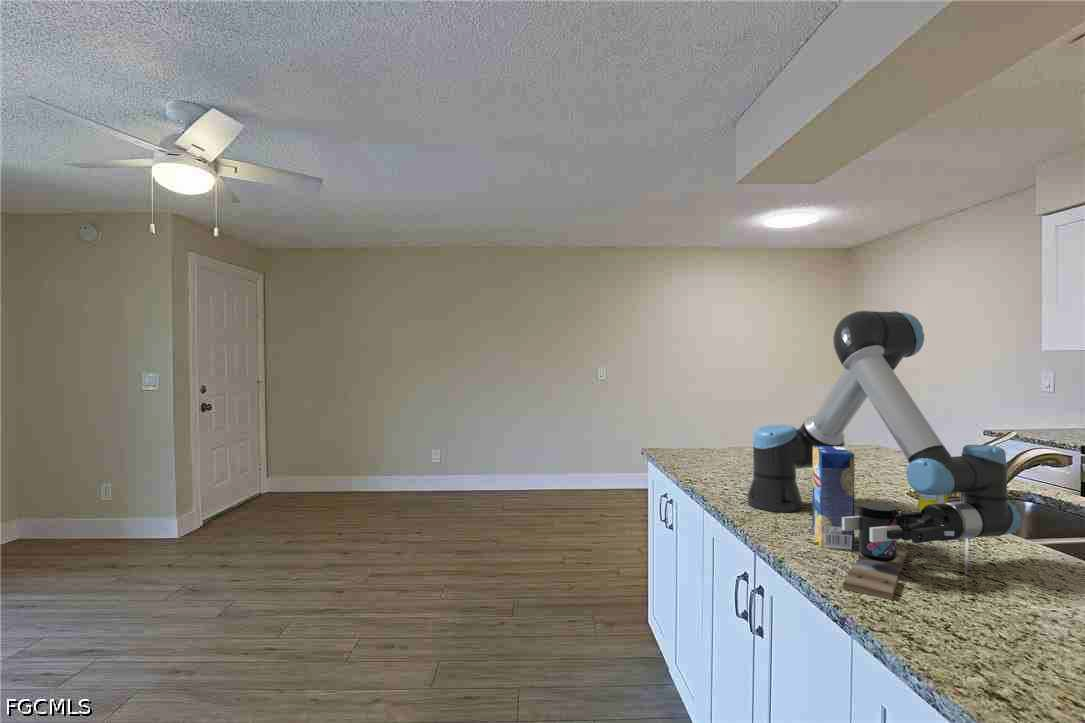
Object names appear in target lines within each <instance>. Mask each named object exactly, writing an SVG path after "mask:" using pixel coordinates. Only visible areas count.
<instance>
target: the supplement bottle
mask: <svg viewBox="0 0 1085 723" xmlns="http://www.w3.org/2000/svg"><path fill="white" fill-rule="evenodd" d="M948 495H949V494H946V495H924V494H921V493H918V492H917V497H918V498H917V505H918V506H917V512H921V510H922V509H923V508H924V507H925V506H927V505H930V504H942V503H949V501H948Z"/></svg>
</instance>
